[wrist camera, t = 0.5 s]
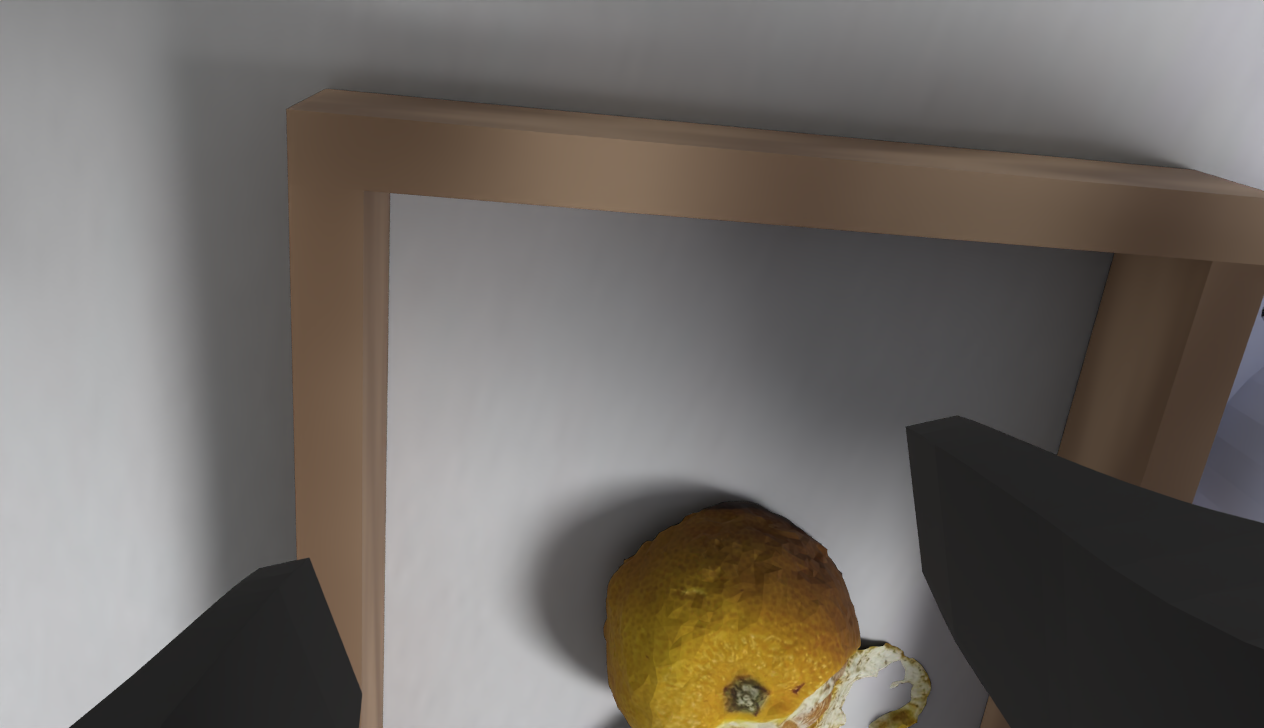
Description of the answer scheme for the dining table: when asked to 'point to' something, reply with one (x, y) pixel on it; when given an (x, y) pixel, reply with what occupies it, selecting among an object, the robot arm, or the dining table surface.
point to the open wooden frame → (755, 193)
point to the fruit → (740, 629)
